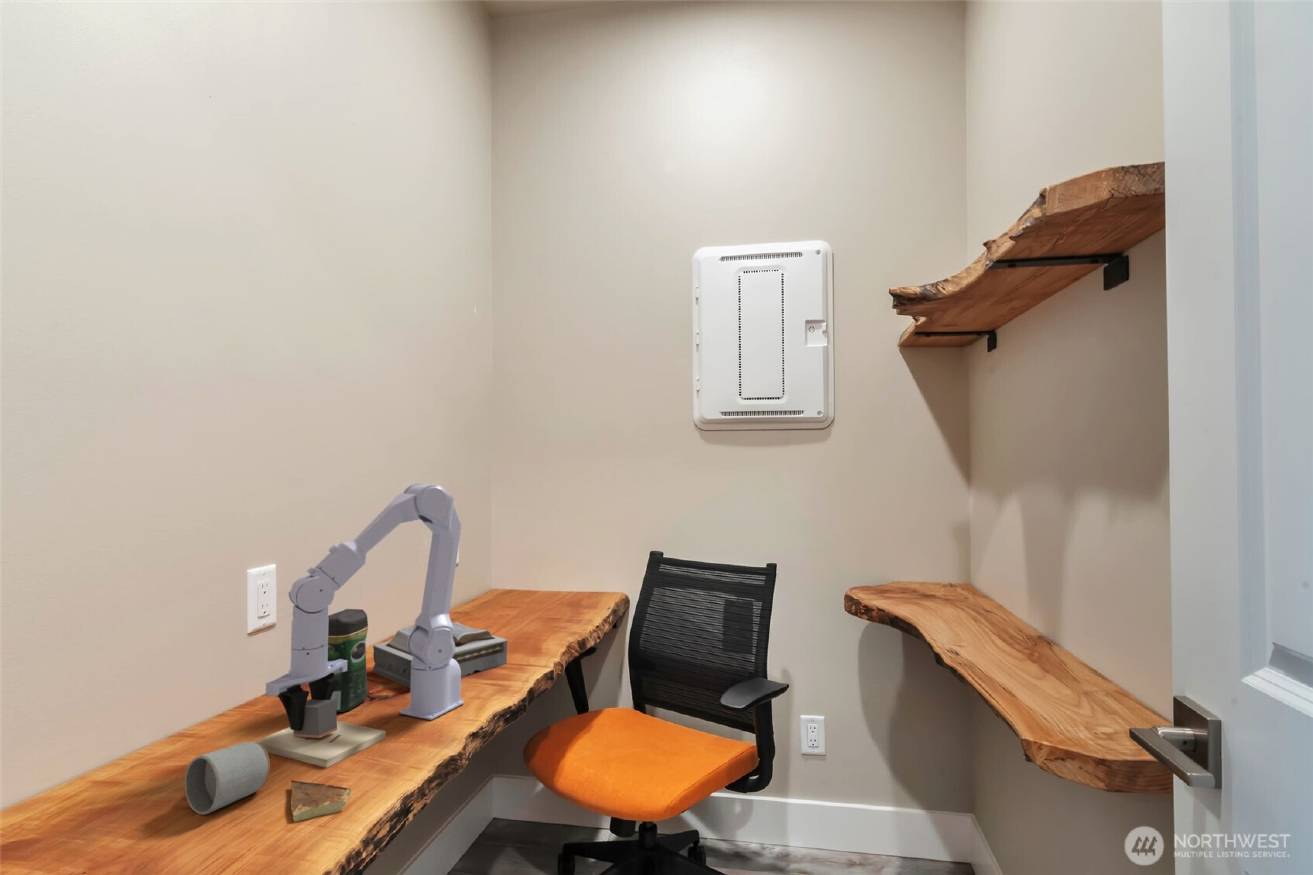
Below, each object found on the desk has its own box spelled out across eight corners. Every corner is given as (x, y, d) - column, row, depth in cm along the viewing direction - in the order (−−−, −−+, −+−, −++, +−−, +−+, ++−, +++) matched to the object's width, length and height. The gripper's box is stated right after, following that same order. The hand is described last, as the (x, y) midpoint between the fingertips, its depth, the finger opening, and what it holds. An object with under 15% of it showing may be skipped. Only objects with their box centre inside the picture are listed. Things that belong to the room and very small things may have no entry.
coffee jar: (338, 695, 133) (340, 605, 134) (373, 698, 132) (375, 606, 132) (305, 713, 123) (308, 616, 124) (343, 716, 122) (345, 617, 123)
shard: (290, 790, 95) (291, 778, 95) (347, 778, 99) (348, 766, 99) (290, 826, 86) (290, 812, 86) (353, 811, 89) (353, 798, 90)
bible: (366, 668, 152) (367, 626, 152) (474, 648, 169) (475, 610, 170) (399, 696, 134) (400, 648, 134) (516, 670, 151) (517, 627, 152)
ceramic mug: (273, 792, 94) (274, 739, 94) (215, 821, 86) (217, 762, 86) (227, 779, 98) (228, 727, 98) (168, 805, 90) (169, 749, 91)
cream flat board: (316, 722, 119) (316, 715, 119) (385, 738, 112) (385, 730, 112) (253, 748, 108) (254, 741, 108) (326, 767, 101) (326, 759, 101)
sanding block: (311, 728, 113) (310, 699, 114) (337, 729, 111) (335, 700, 112) (293, 736, 110) (292, 706, 111) (319, 737, 108) (317, 707, 108)
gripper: (328, 633, 120) (326, 706, 120) (254, 654, 107) (251, 737, 106) (356, 637, 118) (354, 712, 117) (283, 659, 104) (281, 744, 104)
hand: (307, 724), depth 111 cm, fingers closed on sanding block, 4 cm apart
